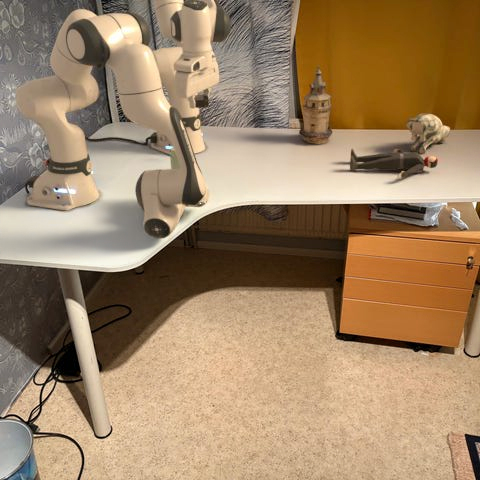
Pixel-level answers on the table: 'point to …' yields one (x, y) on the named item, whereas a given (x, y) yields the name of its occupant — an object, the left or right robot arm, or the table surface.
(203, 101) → the lid
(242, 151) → the table surface
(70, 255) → the table surface
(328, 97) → the miniature building
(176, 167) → the pale green tall cylinder
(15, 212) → the table surface
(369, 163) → the toy
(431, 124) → the figurine
